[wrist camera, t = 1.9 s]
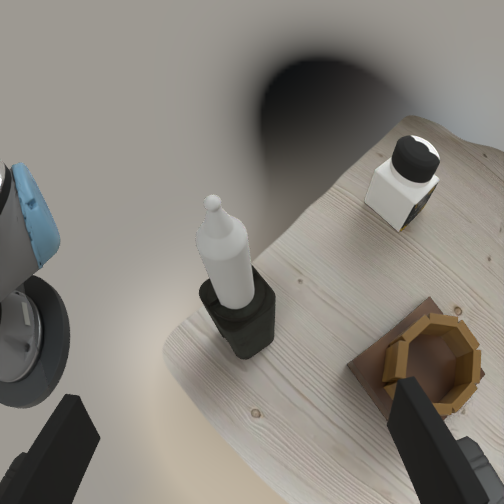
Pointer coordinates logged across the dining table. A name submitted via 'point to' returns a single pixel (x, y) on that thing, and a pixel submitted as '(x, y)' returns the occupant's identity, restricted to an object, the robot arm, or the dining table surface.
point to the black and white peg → (234, 283)
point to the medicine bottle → (404, 182)
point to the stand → (423, 360)
